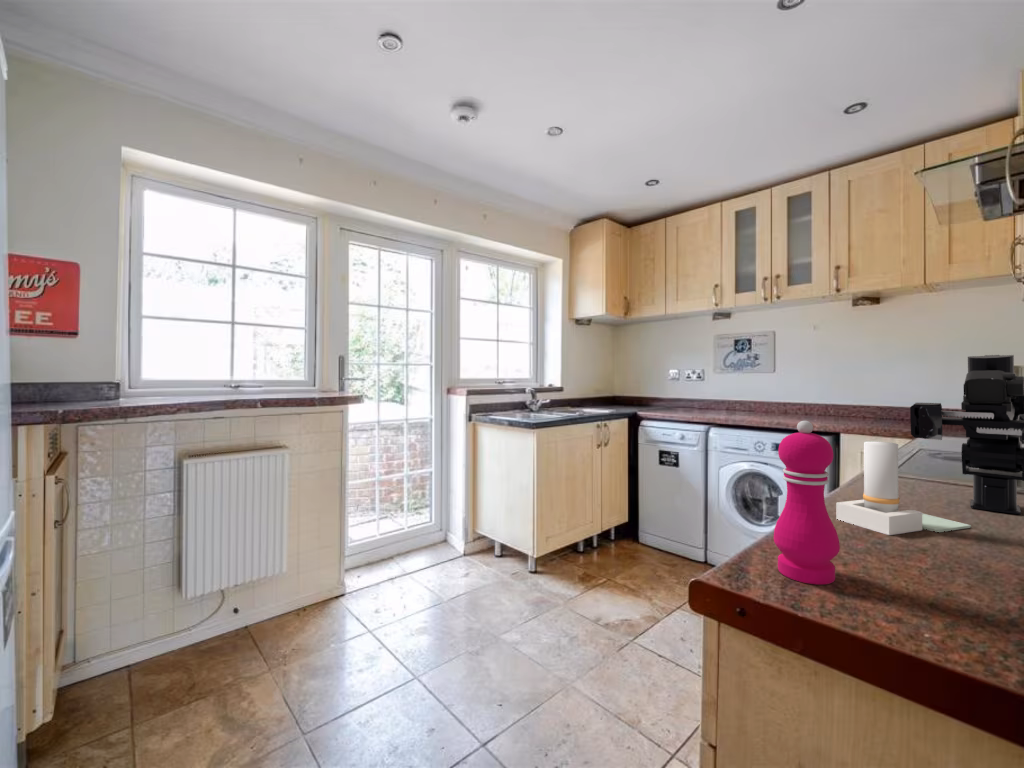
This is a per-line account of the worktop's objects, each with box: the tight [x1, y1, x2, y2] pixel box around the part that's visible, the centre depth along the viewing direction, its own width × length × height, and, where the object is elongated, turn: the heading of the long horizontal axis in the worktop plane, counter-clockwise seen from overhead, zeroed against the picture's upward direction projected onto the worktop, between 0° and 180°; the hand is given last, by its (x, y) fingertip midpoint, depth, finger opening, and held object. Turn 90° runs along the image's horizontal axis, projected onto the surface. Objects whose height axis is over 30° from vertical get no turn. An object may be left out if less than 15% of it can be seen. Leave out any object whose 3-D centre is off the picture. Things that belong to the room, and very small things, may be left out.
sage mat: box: [922, 512, 972, 533], centre depth 79 cm, size 8×8×1 cm
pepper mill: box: [773, 420, 841, 586], centre depth 59 cm, size 7×7×20 cm
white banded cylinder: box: [862, 440, 901, 513], centre depth 79 cm, size 5×5×14 cm
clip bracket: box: [835, 498, 923, 536], centre depth 79 cm, size 8×9×3 cm
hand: (979, 434), depth 71 cm, fingers open, 9 cm apart
